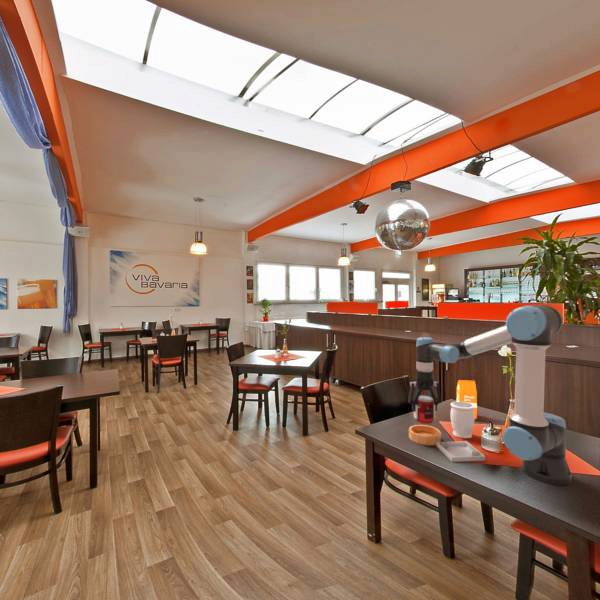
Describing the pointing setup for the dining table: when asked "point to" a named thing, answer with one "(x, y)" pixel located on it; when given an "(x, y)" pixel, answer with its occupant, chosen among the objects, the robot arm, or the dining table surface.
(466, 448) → the tray
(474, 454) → the pebble
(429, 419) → the canned food
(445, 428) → the dining table surface
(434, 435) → the bowl
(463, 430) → the jar
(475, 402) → the orange juice
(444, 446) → the pebble
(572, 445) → the dining table surface
